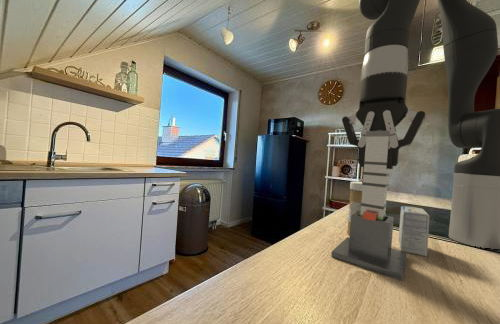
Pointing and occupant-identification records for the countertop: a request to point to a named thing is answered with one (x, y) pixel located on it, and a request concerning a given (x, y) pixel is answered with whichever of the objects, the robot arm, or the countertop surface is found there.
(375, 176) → the column
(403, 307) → the countertop surface
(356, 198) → the sprinkles bottle
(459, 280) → the countertop surface
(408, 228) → the medicine box
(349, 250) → the stand base
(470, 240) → the robot arm
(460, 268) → the countertop surface
